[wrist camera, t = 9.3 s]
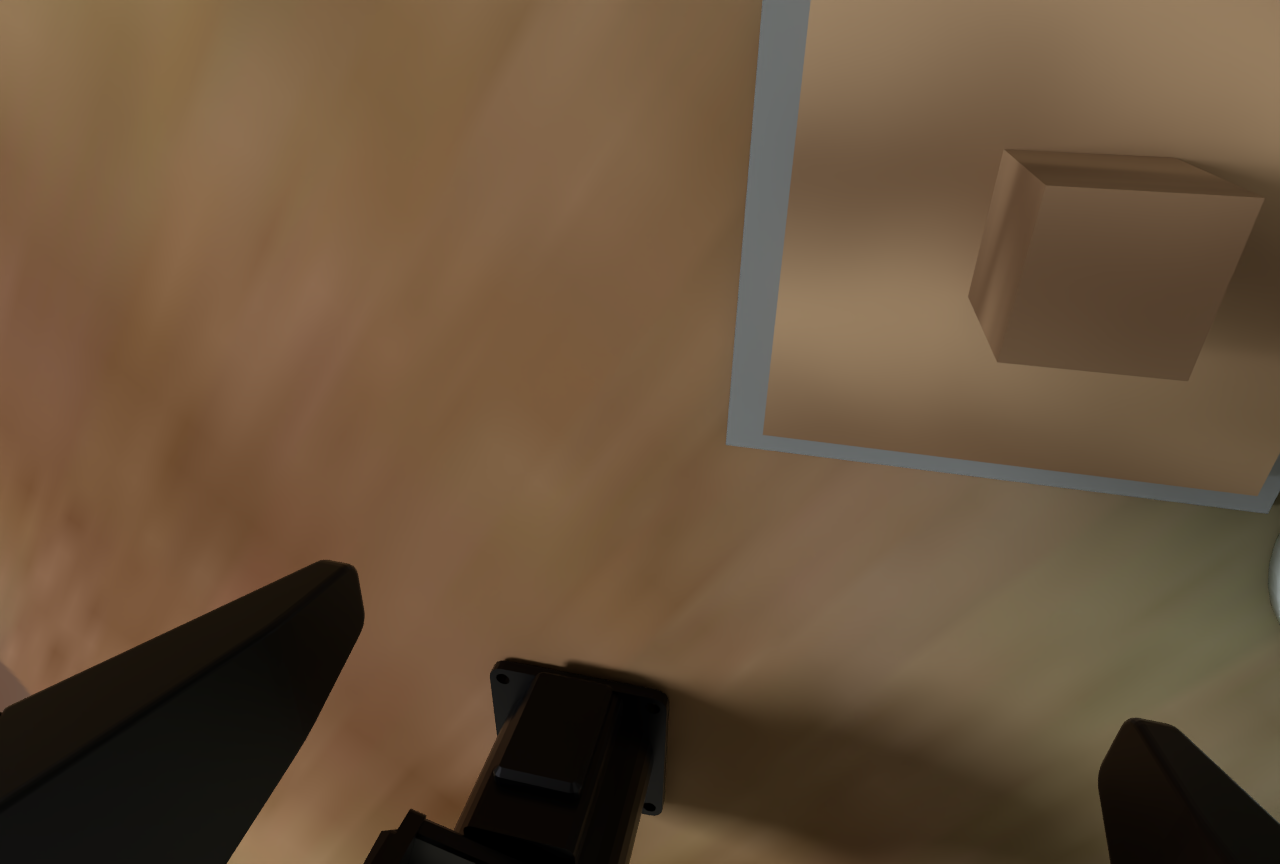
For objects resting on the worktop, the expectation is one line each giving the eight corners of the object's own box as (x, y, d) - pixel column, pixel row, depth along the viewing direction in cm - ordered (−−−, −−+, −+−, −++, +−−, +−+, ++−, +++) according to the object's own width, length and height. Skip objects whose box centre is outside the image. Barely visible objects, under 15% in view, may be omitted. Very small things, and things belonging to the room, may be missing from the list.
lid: (1236, 472, 18) (1347, 601, 14) (766, 416, 20) (748, 515, 16) (1516, -100, 12) (1829, -149, 8) (823, -94, 14) (816, -130, 10)
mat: (1259, 504, 18) (1268, 514, 18) (727, 437, 21) (725, 444, 20) (1612, -175, 12) (1635, -180, 11) (777, -154, 14) (775, -159, 14)
